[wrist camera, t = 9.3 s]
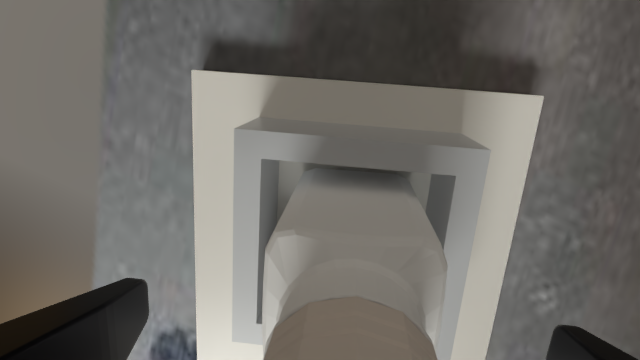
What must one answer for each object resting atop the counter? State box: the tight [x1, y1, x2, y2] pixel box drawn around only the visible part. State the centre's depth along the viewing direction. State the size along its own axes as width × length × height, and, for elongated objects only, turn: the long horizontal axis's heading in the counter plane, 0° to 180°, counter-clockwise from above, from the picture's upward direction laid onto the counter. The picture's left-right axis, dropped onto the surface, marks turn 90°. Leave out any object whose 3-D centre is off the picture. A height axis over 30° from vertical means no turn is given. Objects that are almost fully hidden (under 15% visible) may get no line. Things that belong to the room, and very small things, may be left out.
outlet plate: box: [191, 70, 544, 360], centre depth 15 cm, size 18×12×4 cm, turn 176°
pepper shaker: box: [262, 168, 448, 360], centre depth 10 cm, size 4×4×10 cm
